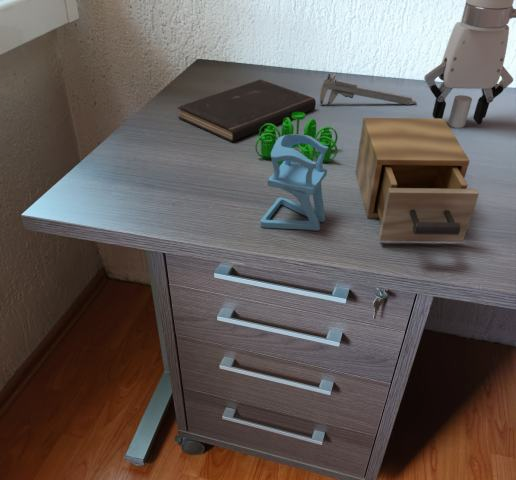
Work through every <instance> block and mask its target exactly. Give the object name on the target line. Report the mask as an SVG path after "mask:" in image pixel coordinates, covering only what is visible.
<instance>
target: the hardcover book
mask: <svg viewBox="0 0 516 480" xmlns="http://www.w3.org/2000/svg"><path fill="white" fill-rule="evenodd" d="M316 102H317V101H316V99H315V97H312V96H309V95H306V94H304V93H301V92H298V91H295V90H292V89H289V88H286V87H285V86H280V85H279V84H278V85H277V84H275V83H272V82H270V81H267V80H263V79H258V80H254V81H251V82H248V83H245V84H242V85H239V86H236V87H233V88H230V89H227V90H224V91H221V92H218V93H215V94H212V95H210V96H205V97H203V98H199V99H197V100H193V101H191V102H187V103H185V104H181V105H178V106H177V109H178V110H179V115H180V116H178V119H179V120H181V121H183V122H186V123H188V124H189V125H192V126H194V127H196V128H199V129H201V130H204V131H205V132H208V133H210V134H212V135H215V136H216V137H219V138H221V139H223V140H225V141H228V142H230V143H232V142H235V141H238V140H241V139H243V138H246V137H248V136H251V135H253V134H255V133H259V130H260V128H261V127H262V126H263V125H264V124H267V123H270V124H273V125H275V126H277V125H278V124H282V123H283V120H284V118H289V119H290V120H291V119H293V118H292V113H294V112H303V113H305V114H306V113H308V112H311V111H313V110H315V109H316V105H317V103H316ZM267 126H268V125H266V126H264V127H263V128H262V130H261V131H264V130H265V128H267Z"/></svg>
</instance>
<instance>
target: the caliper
mask: <svg viewBox="0 0 516 480" xmlns="http://www.w3.org/2000/svg"><path fill="white" fill-rule="evenodd" d="M336 76H337V75H336V73H333V74H332V75H331V73H330V72H328V73H327V76H326V77H323V79H322V83H321V86H320V91H319V104H320V105H323V104H324V101H325V97H326V96H327V93H328V90H330V94H329V97H328V101H327V106H328V107H330V106H331V105H332V104H333V103H334V101H335V99H336V98H337V96H338V95H341V96H343V97H344V98H350V99H353V98H354V96H359V97H365V98H369V99H376V100H381V101H386V102H391V103H396V104H400V105H405V106H410V105H411V104H414V105H417V104H418V103H417V101H416V100H415V99H413V98H412V96H409V95H404V94H399V93H394V92H389V91H386V90H385V91H384V90H379V89H373V88H369V87H363V86H358V84H357V83H355V82H351V81H346V80H340V79H336Z"/></svg>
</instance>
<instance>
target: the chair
mask: <svg viewBox="0 0 516 480" xmlns="http://www.w3.org/2000/svg"><path fill="white" fill-rule="evenodd" d="M277 138H278V140H277V139H276V143H275V145H274V147H273V149H272V151H271V162H272V166H273V174H271V176H269V178H268V179H267V187H271V188H277V189H280V190H282V191H284V192H287V193H289V194H291V195H292V196H294V198H296V200H297V201H298V203H297V202H295V201H293V200H290V199H288V198H285V197H282V196H280V197H278V198H277V199H275V201H274V203H273V204H272V205H271V206H270V208H269V209H268V210H267V212H266V213H265V214H264V216H263V217H262V218H261V219H260V227H261V228H266V229H289V230H307V231H320V230H321V229H320V228H321V224H320V223H324V222H326V213H325V212H326V211H325V207H324V199H323V187H322V182H323V180H325V177H327V173H328V168H324V167H323V163H324V162H323V158H324V155H325V153H326V151H327V149H328V147H327V146H325V145H323V144H321V143H319V140H318V141H317V139H316V140H315V139H314V138H312V137H310V136H307V135H304V134H299V133H298V134H296V133H293V134H292V135H284V136H281V137H280V138H279V137H277ZM301 143H304V144H308V145H311V146H312V148H313V147H314V148H315V150H316V151H319V152H320V155H319V157H318V158H317V160H316V161H314V160H313V161H311V160H310V159H308V158H307V157H305V156H304V155H303V154H301V151H298V150H297V149H295V148H293V147H292V148H290V147H291V146H293V145H296V144H301ZM283 160H285V161H284V162H283V163H282V164H281V165H280V167H279V165H278V163H277V162H279V161H283ZM301 164H302V165H301ZM311 196H312V199H313V206H314V209H313V206H312V202H311V200H310V199H311V198H310V197H311ZM280 206H284V207H286V208H288V209H290V210H293V211H294V212H296V213H299V214H300V215H303V216H304V217H307V219H308V220H295V219H294V220H291V219H289V220H286V219H285V220H284V219H271V218H272V217H273V215H275V212H277V210H278V209H279V208H280Z"/></svg>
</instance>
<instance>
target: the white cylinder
mask: <svg viewBox="0 0 516 480" xmlns="http://www.w3.org/2000/svg"><path fill="white" fill-rule="evenodd" d="M472 101H473V98H472V97H471V96H469V95H464V94H458V95H455V96H454V99H453V102H452V107H451V110H450V114H449V118H448V122H447V124H448V126H449V127H451V128H454V129H455V128H456V129H461V128H462V129H463V128H464V127H465V126H466V122H467V119H468V115H469V113H470V109H471V105H472Z"/></svg>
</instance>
